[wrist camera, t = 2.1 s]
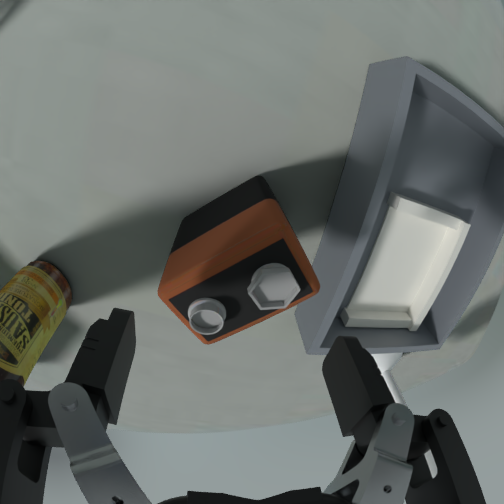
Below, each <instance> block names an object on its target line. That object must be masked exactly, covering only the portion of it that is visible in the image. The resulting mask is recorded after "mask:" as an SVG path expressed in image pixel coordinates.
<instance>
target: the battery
mask: <svg viewBox="0 0 504 504" xmlns="http://www.w3.org/2000/svg"><path fill="white" fill-rule="evenodd" d="M319 290H320V283H319V280H318V278H317V276H316V274H315V272H314V270H313V268H312V266H311V264H310V262H309V260H308V258H307V256H306V254H305V252H304V250H303V248H302V246H301V244H300V242H299V241H298V239H297V237H296V235H295V233H294V231H293V229H292V227H291V225H290V223H289V221H288V219H287V218H286V216H285V214H284V212H283V210H282V209H281V207H280V205H279V203H278V201H277V200H276V198H275V196H274V194H273V192H272V191H271V189H270V187H269V185H268V184H267V182H266V180H265V179H264V178H263V177H262V176H255V177H253V178H251V179H250V180H248V181H246V182H244V183H242V184H241V185H239V186H237V187H235V188H234V189H232V190H230V191H229V192H227V193H225V194H223V195H222V196H220V197H218V198H217V199H215V200H213V201H212V202H210V203H208V204H207V205H205V206H203V207H202V208H200V209H198V210H197V211H195V212H193V213H192V214H190V215H189V216H187V217H186V218H184V219H183V220H182V222H181V225H180V228H179V230H178V233H177V236H176V238H175V241H174V244H173V247H172V249H171V252H170V255H169V258H168V261H167V264H166V267H165V270H164V272H163V275H162V278H161V281H160V285H159V288H158V296H159V297H160V299H161V300H162V301H163V302H164V303H165V304H166V305H167V306H168V307H169V308H170V309H171V311H172V312H173V313H174V314H175V315H176V316H177V317H178V318H179V319H180V320H181V321H182V322H183V323H184V324H185V325H186V326H187V327H188V328H189V329H190V330H191V331H192V332H193V333H194V334H195V336H196V337H197V338H198V339H200V340H201V341H202V342H203V343H204V344H212V343H215V342H217V341H220V340H222V339H224V338H227V337H229V336H231V335H233V334H236V333H238V332H240V331H242V330H244V329H247V328H249V327H251V326H253V325H255V324H257V323H260V322H262V321H264V320H266V319H268V318H270V317H272V316H274V315H276V314H279V313H281V312H283V311H285V310H287V309H289V308H291V307H293V306H295V305H297V304H299V303H301V302H303V301H305V300H307V299H309V298H311V297H312V296H314V295H316V294H317V293H318V292H319Z"/></svg>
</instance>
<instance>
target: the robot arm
mask: <svg viewBox="0 0 504 504" xmlns="http://www.w3.org/2000/svg"><path fill="white" fill-rule="evenodd" d="M135 347H136V336H135V319H134V312H133V311H129V310H123V309H119V308H114V309H113V310H112V312H111V315H110V317H109V319H108V320H104V319H99V320H97V321H96V322H95V323H94V324H93V325H91V326H90V328H89V330H88V332H87V334H86V336H85V339H84V340H83V342H82V345H81V348H80V349H79V351H78V353H77V355H76V358H75V360H74V362H73V364H72V367H71V369H70V371H69V374H68V376H67V378H66V380H65V382H64V383H61V384H58V385H57V386H55V387H54V388H53V389H52V390H51V391H28V390H25V389H24V387H23V386H22V385H21V384H20V383H19V382H18V381H16V380H13V379H5V380H2V381H0V504H43V496H44V488H45V481H46V474H47V469H48V463H49V458H50V453H51V449H52V447H64V448H65V450H66V453H67V455H68V457H69V459H70V468H71V471H72V473H73V475H74V477H75V479H76V481H77V483H78V485H79V487H80V489H81V491H82V492H83V494H84V496H85V498H86V500H87V501H88V503H89V504H152V503H151V502H150V501H149V499H148V498H147V497H146V495H145V494H144V492H143V491H142V490H141V488H140V487H139V485H138V484H137V482H136V481H135V479H134V478H133V477H132V475H131V473H130V472H129V470H128V469H127V467H126V466H125V464H124V462H123V461H122V459H121V457H120V456H119V454H118V452H117V451H116V449H115V448H114V446H113V445H112V443H111V441H110V439H109V437H108V435H107V433H106V429H107V425H108V423H111V424H115V425H116V424H117V420H118V415H119V411H120V407H121V402H122V398H123V394H124V390H125V387H126V383H127V379H128V375H129V372H130V368H131V364H132V361H133V357H134V353H135ZM322 372H323V376H324V379H325V382H326V385H327V388H328V391H329V394H330V397H331V400H332V403H333V406H334V409H335V413H336V416H337V419H338V422H339V425H340V428H341V432H342V435H343V437H345V436H351V435H354V438H355V440H353V442H352V443H351V445H350V448H349V450H348V452H347V454H346V457H345V459H344V461H343V463H342V465H341V467H340V469H339V471H338V474H337V476H336V477H335V479H334V480H333V481H332V482H331V483H330V484H329V485H328V487H327V488H326V489H325V491H324V492H323V493H321V489H320V487H315V488H308V489H301V490H292V491H288V492H285V493H282V494H279V495H276V496H272V497H269V498H266V499H262V500H253V499H247V498H242V497H237V496H232V495H228V494H224V493H208V492H194V491H188V492H187V496H180V497H176V498H171V499H168V500H165V501H163V502H160V503H158V504H403V503H404V499H405V500H406V504H486V502H485V499H484V496H483V493H482V490H481V487H480V484H479V482H478V479H477V476H476V473H475V471H474V468H473V466H472V463H471V461H470V458H469V456H468V454H467V451H466V449H465V446H464V444H463V442H462V439H461V437H460V435H459V433H458V430H457V428H456V426H455V424H454V422H453V420H452V418H451V416H450V415H449V414H448V413H447V412H446V411H444V410H442V409H435V410H433V411H432V412H431V413H430V414H429V415H428V416H420V415H413V414H412V412H411V411H410V409H408V407H406V406H405V405H403V404H400V403H396V402H395V400H394V398H393V396H392V394H391V392H390V390H389V388H388V386H387V384H386V381H385V379H384V377H383V376H382V375H381V374H382V373H381V371H380V369H379V368H378V365H377V363H376V361H375V359H374V357H373V356H372V355H371V354H370V353H369V352H368V351H367V350H366V349H365V348H362V346H361V344H360V342H359V340H358V338H357V337H356V336H338V337H337V338H336V339H335V341H334V343H333V345H332V347H331V348H330V350H329V352H328V354H327V356H326V357H325V359H324V362H323V366H322ZM429 450H431V453H432V455H433V458H434V461H435V463H436V466H437V474H436V476H435V477H434V478H433V477H432V475H431V472H430V469H429V466H428V463H427V460H426V458H425V455H424V454H425V453H426V452H428V451H429Z"/></svg>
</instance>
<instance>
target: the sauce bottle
mask: <svg viewBox="0 0 504 504" xmlns="http://www.w3.org/2000/svg"><path fill="white" fill-rule="evenodd" d="M71 300H72V293H71V288H70V286H69V284H68V282H67V280H66V279H65V277H64V276H63V275H62V273H61V272H60V271H59V270H58V269H57V268H55V266H53V265H51V264H50V263H47V262H44V261H34V262H30V263H29V264H28V265H27V266H26V267H23V268H22V269H21V270H20V271H19V272H18V273H17V274H16V275H15V276H14V277H13V278H12V279H11V280H10V281H9V282H8V283H7V284H6V285H5V286H4V287H3V288H2V289H1V290H0V381H2V380H5V379H13V380H16V381H18V382H19V383H20V384H21V385H22V386H24V385H25V383H26V381H27V379H28V377H29V375H30V373H31V371H32V369H33V368H34V366H35V364H36V362H37V360H38V359H39V357H40V355H41V354H42V352H43V350H44V349H45V347H46V345H47V344H48V342H49V340H50V339H51V337H52V335H53V334H54V332H55V331H56V329H57V327H58V326H59V324H60V323H61V321H62V320H63V318H64V317H65V315H66V311H67V309H68V308H69V306H70V304H71Z"/></svg>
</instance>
